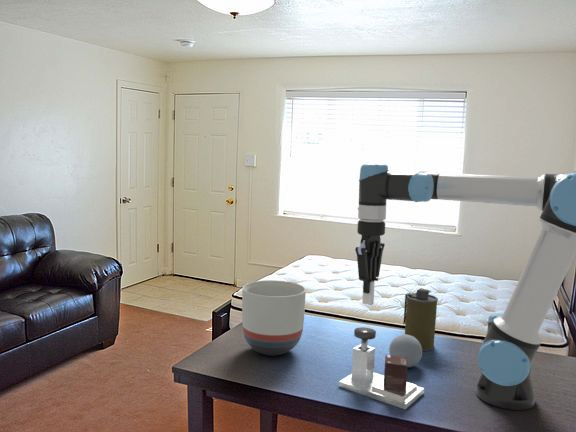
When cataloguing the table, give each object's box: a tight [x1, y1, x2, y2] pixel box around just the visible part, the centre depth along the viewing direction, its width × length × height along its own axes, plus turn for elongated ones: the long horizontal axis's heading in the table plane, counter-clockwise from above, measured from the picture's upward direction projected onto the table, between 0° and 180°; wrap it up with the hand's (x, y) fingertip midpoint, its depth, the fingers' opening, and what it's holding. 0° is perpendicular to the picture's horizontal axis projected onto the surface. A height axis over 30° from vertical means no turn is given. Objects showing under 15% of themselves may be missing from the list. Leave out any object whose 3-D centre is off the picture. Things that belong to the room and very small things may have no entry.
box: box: [383, 354, 409, 391], centre depth 139 cm, size 6×6×7 cm
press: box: [338, 343, 425, 410], centre depth 142 cm, size 20×12×10 cm, turn 53°
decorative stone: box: [388, 333, 423, 368], centre depth 159 cm, size 10×10×10 cm
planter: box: [241, 279, 307, 356], centre depth 166 cm, size 20×20×21 cm
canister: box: [403, 287, 439, 352], centre depth 177 cm, size 11×10×20 cm
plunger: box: [353, 326, 377, 351], centre depth 145 cm, size 6×6×13 cm
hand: (367, 303), depth 143 cm, fingers closed
